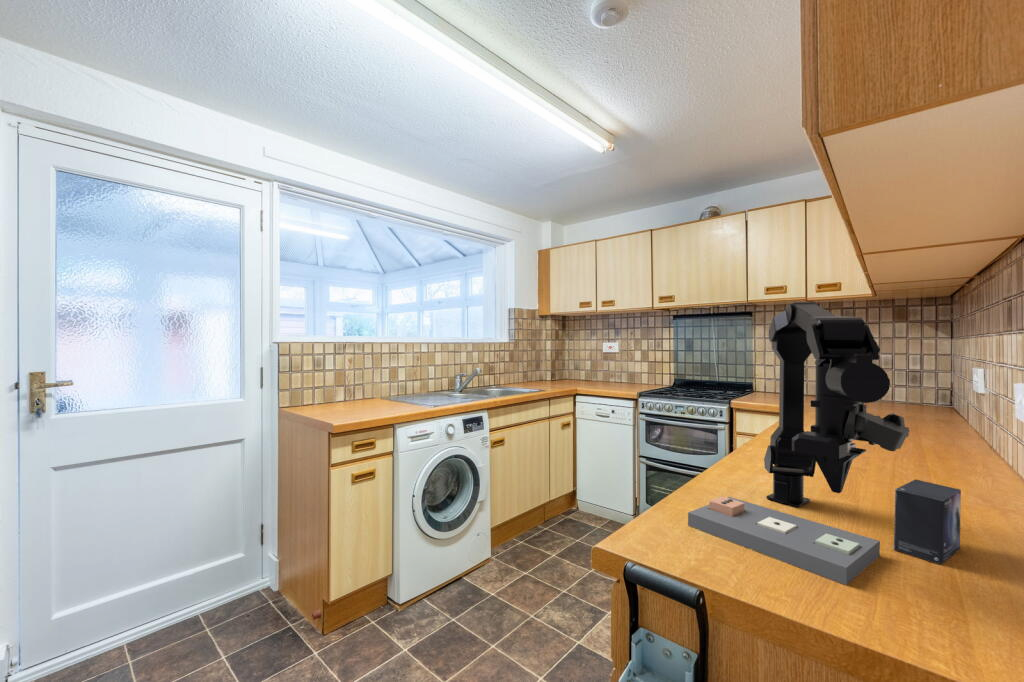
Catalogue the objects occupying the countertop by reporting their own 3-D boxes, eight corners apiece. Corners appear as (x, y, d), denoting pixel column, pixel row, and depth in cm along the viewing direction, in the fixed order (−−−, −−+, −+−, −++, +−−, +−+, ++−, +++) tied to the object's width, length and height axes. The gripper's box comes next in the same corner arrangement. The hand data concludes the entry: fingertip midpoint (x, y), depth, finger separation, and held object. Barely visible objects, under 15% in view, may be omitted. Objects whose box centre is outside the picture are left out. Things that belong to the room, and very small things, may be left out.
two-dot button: (826, 548, 73) (826, 532, 73) (859, 559, 70) (859, 542, 70) (815, 555, 71) (815, 539, 71) (848, 567, 67) (848, 550, 67)
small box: (945, 567, 68) (945, 500, 68) (892, 550, 74) (892, 488, 74) (963, 550, 74) (963, 488, 74) (912, 535, 79) (912, 478, 80)
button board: (729, 508, 92) (729, 496, 92) (879, 556, 72) (879, 540, 72) (688, 525, 83) (688, 512, 83) (846, 585, 63) (846, 567, 63)
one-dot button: (769, 530, 81) (769, 516, 81) (796, 539, 77) (796, 524, 77) (757, 536, 78) (757, 521, 78) (784, 546, 74) (784, 530, 74)
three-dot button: (721, 508, 88) (721, 495, 88) (744, 515, 84) (744, 502, 84) (709, 513, 85) (709, 500, 85) (732, 521, 82) (732, 507, 82)
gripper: (882, 405, 58) (882, 522, 58) (919, 396, 69) (919, 495, 69) (790, 397, 67) (790, 498, 67) (836, 390, 78) (836, 477, 78)
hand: (836, 492), depth 70 cm, fingers closed
